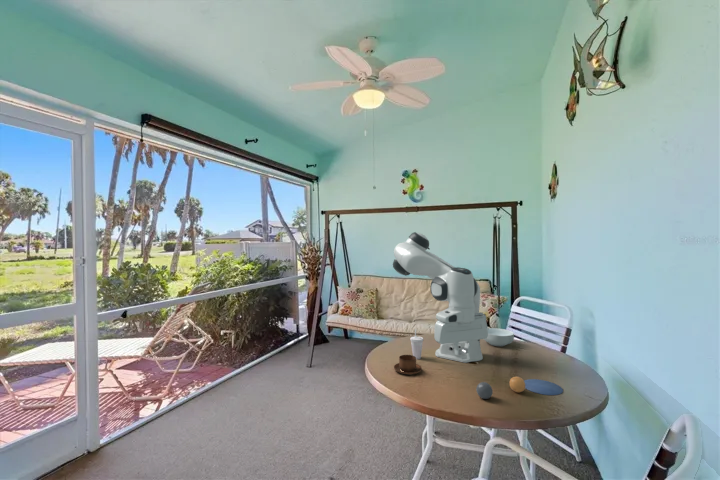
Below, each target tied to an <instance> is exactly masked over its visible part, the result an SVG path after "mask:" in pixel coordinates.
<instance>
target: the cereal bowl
mask: <svg viewBox="0 0 720 480" xmlns="http://www.w3.org/2000/svg"><path fill="white" fill-rule="evenodd" d="M487 329H488V336H487V338H486V339H483V340H484V341H485V342H487V343H488V344H489V345H491V346H494V347H495V346H496V347H505V346H507V345H509V344H510V345H511V343H513V341H514V340H515V333H514V332H513V331H512V330H509V329H504V328H497V327H491V328H490V327H489V328H488V327H487Z"/></svg>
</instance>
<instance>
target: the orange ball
mask: <svg viewBox="0 0 720 480" xmlns="http://www.w3.org/2000/svg"><path fill="white" fill-rule="evenodd" d="M509 388H510V389H511V390H512V391H514V392H515V393H522V392H524V391H525V389H526V388H525V382H524V379H523V378H522V377H520V376H513V377H511V378H510V379H509Z"/></svg>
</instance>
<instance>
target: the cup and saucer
mask: <svg viewBox="0 0 720 480" xmlns="http://www.w3.org/2000/svg"><path fill="white" fill-rule="evenodd" d="M393 368H394V369H393V370H395V371H396V372H397V373H398V374H402V375H416V374H418V373H420V372H421V371H422V370H423V369H422V366H421V365H420V364H418V363H417V359H416V357H415V356H413V354H402V355H400V356H399V359H398V363H395V364H394V365H393ZM400 369H401V370H402V371H404V372H401V371H400Z"/></svg>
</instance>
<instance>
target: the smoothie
mask: <svg viewBox="0 0 720 480" xmlns="http://www.w3.org/2000/svg"><path fill="white" fill-rule="evenodd" d="M423 342H424V337H422V336H417V328H415V329H414V336H411V337H410V343H411V352H412V355H413V356H415V357H416V360H421V358H422V350H423Z"/></svg>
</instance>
